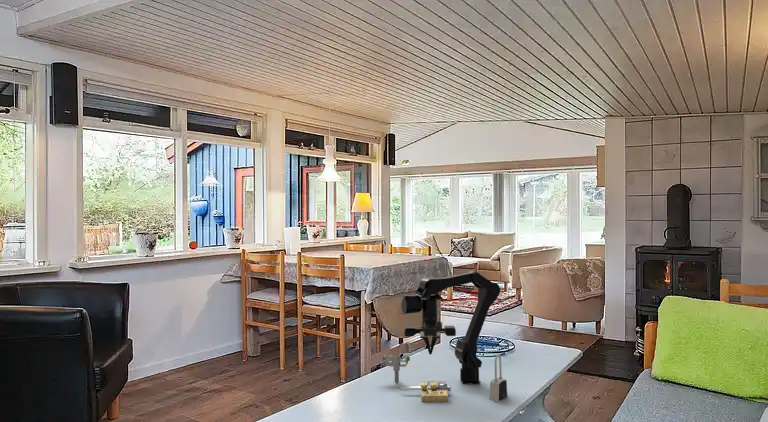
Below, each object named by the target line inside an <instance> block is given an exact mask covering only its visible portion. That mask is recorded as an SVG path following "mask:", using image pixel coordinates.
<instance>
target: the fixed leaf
mask: <svg viewBox="0 0 768 422" xmlns="http://www.w3.org/2000/svg"><path fill="white" fill-rule="evenodd" d="M421 382H427V386H428V387H421V386H400V390H401V391H421V389H428V390H431V389H437V390H447V391H448V392H451V391H452V386H451V385H448V384H447V380H421ZM431 382H437V387H431Z"/></svg>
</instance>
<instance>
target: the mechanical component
mask: <svg viewBox="0 0 768 422" xmlns="http://www.w3.org/2000/svg"><path fill="white" fill-rule="evenodd" d="M410 358H411V357H410V356H408V355H406V356H405V358H404V359H402V357H401V355H400V354H385V355H383V356H382V361H384V365H385V366H386V367H392V368H393V370H392V371H394V383H396V384H397V383H399V382H400V377H399V376H400V375H399V374H400V373H399V372H400V370H401V369H400V367H402V368H403V367H404V368H405V367H407V366H408V364H409V362H410V361H411V359H410Z"/></svg>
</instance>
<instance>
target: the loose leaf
mask: <svg viewBox="0 0 768 422" xmlns="http://www.w3.org/2000/svg"><path fill="white" fill-rule="evenodd" d="M420 385H421V386H420V387H428V386H427V382H422V381H421V382H420ZM431 387H437V382H431ZM420 393H421V402H426V403H427V402H429V403H430V402H431V403H432V402H433V403H434V402H435V403H437V402H438V403H441V402H442V403H444V402H445V403H448V402H449V394H448V390H437V389H431V390H428V389H421V390H420Z"/></svg>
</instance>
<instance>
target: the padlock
mask: <svg viewBox="0 0 768 422" xmlns="http://www.w3.org/2000/svg"><path fill="white" fill-rule="evenodd" d="M498 363H499V368H498V365H497V364H498ZM498 369H499V377H498V373H497V372H498V371H497V370H498ZM502 372H503V371H502V356H501V355H500V354H496V355H495V358H494V378H493V379H492V380H491V381H489V400H490V401H495V402H501V401H503V400H505V399H506V398H507V397H508V383H507V381H508V380H507V379H504V378H503V375H502V374H503V373H502Z"/></svg>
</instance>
